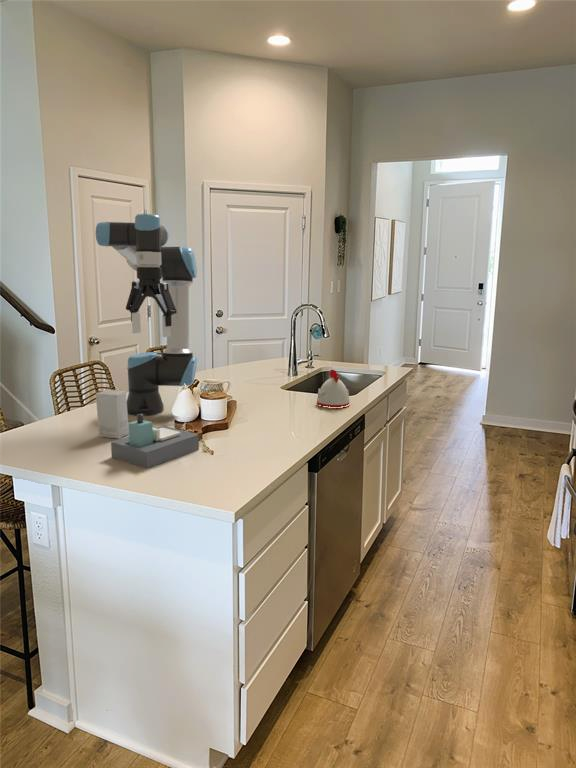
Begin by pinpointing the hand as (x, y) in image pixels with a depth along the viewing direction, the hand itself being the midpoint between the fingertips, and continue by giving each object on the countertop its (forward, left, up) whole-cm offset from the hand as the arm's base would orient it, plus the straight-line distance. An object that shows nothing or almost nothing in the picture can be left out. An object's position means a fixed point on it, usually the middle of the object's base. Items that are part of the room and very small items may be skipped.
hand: (151, 334), depth 185 cm
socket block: (+6, -5, -37) cm, 38 cm away
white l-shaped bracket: (+6, -3, -31) cm, 32 cm away
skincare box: (-19, -1, -37) cm, 42 cm away
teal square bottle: (+6, -11, -34) cm, 36 cm away
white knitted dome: (+19, +84, -37) cm, 94 cm away
